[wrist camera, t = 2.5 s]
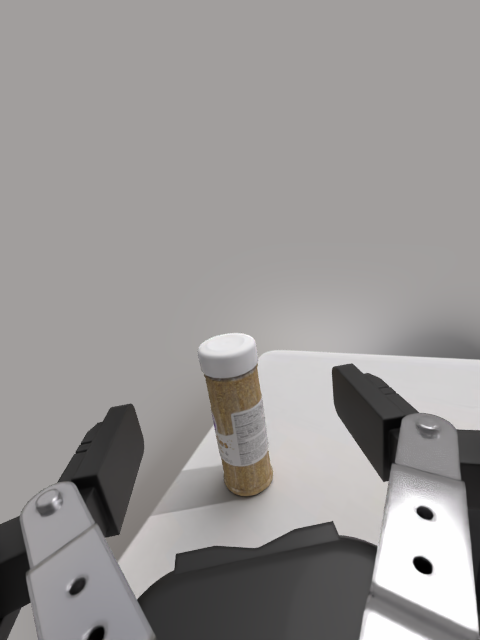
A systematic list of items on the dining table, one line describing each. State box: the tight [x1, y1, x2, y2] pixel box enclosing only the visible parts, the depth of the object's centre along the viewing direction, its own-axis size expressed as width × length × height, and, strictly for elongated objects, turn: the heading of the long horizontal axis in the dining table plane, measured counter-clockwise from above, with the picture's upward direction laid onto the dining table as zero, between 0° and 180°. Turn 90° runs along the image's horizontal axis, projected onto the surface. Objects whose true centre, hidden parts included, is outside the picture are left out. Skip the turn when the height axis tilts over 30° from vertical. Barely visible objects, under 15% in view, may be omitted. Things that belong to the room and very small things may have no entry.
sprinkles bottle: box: [198, 333, 273, 496], centre depth 25 cm, size 5×5×13 cm
